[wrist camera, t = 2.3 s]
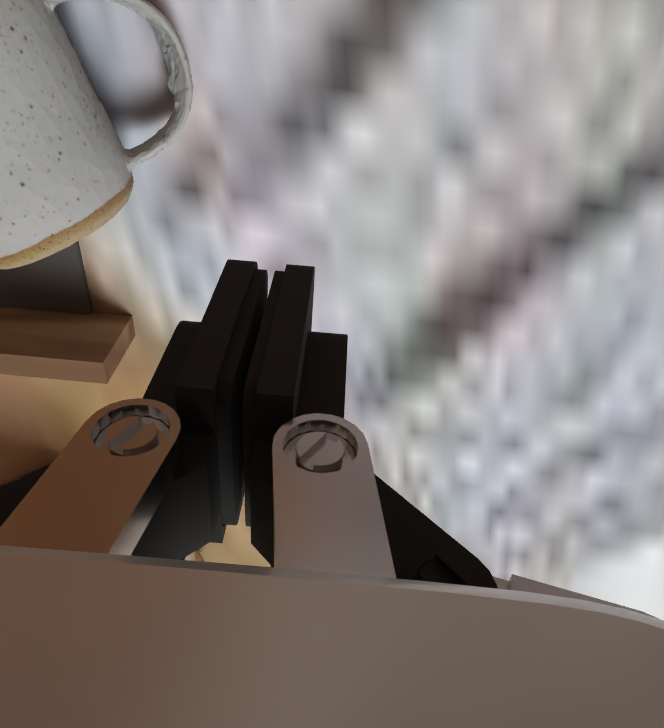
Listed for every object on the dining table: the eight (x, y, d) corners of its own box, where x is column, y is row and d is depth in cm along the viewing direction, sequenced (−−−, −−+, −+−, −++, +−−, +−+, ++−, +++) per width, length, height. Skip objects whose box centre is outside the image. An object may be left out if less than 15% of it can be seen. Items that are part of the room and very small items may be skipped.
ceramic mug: (31, 223, 27) (-66, 310, 21) (-103, 34, 23) (-274, 75, 17) (237, 141, 25) (195, 214, 19) (131, -89, 20) (31, -94, 14)
